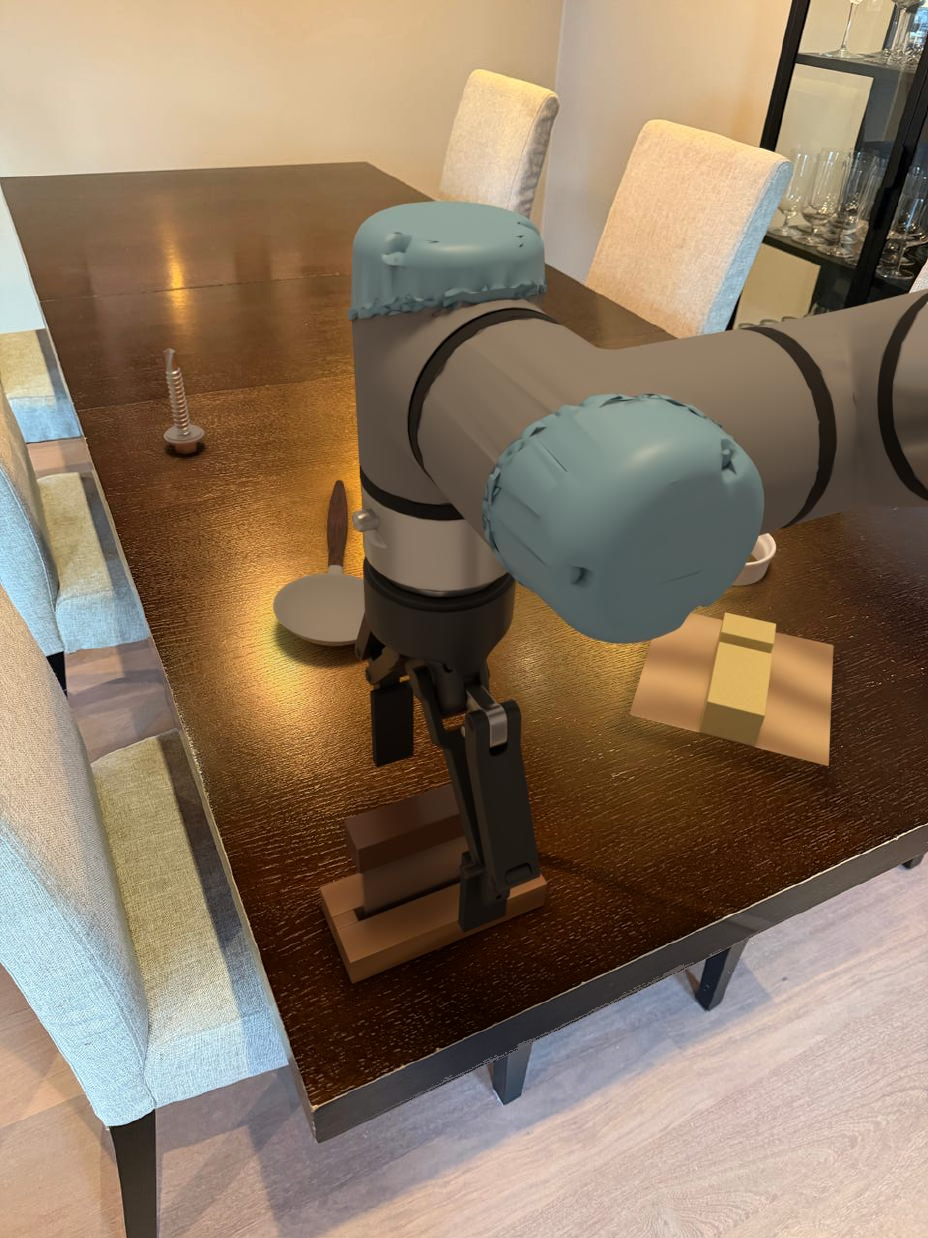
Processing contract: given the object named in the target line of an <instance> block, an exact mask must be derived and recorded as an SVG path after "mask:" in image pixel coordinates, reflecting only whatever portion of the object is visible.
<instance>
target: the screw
mask: <svg viewBox="0 0 928 1238" xmlns="http://www.w3.org/2000/svg"><path fill="white" fill-rule="evenodd" d="M163 356H164V362H165V369H166V371H165V374H166V376H165V379H166V380H167V381H166V384H168V385H167V388H168V389H169V390H168V393H169V396H168V398H170V400H169V402H170V403H171V404H170V407H171V408H172V409H171V412H173V413H172V416H173V422H174V423H173V426H171V427H169V428H168V429H167V430H166V431H165V432H164V433H163V440H164V442H165V443H167V444H169V445H171V446H174V449H175V453H178V454H181V455H189V454H193V453H196V452H197V449H198V443H199V442H201V441H202V440H204V438H205V436H206V433H205V431H204V429H203V428H201V427H200V426H198V425H195V424H191V423H190V418H189V417H190V414H188V413H189V410H188V405H187V400H186V399H187V397H186V396H185V394H186V392H185V387H184V382H183V376H182V372H181V367H179V364H178V359H177V352H176V350H175V349H173V348H169V347H168V348H166V349H165V350H163Z"/></svg>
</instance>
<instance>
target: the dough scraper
mask: <svg viewBox="0 0 928 1238" xmlns="http://www.w3.org/2000/svg"><path fill="white" fill-rule="evenodd" d="M343 824H344V837H345V846H346V848H347V851H348V852H349V855H350V857H351V859H352V862H353V864H354V866H355V868H356V870H357V873H359V874H360V878H361V893H362V909H363V920H365V919H367V918H370V917H372V916H375V915H377V914H380V913H383V912H385V911H388V910H390V909H393V908H396V907H398V906H401V905H403V904H406V903H408V902H411V901H414V900H416V899H419V898H421V897H424V896H427V895H429V894H432V893H434V892H437V891H439V890H442V889H445V888H447V887H450V886H452V885H455V884H457V883H460V878H461V871H460V868H459V865H461V860H462V853H463V852H466V851H468V850H469V848H468V845H467V841H466V837H465V833H464V829H463V825H462V822H461V818H460V814H459V810H458V806H457V803H456V799H455V795H454V791H453V787H452V783H451V782H450V783H449V784H445V785H442V786H439V787H437V788H433V789H431V790H430V789H429V790H427V791H425V792H422V793H419V794H416V795H414V796H410V797H408V798H404V799H401V800H398V801H396V802H392V803H390V804H387V805H384V806H381V807H377V808H375V809H372V810H369V811H366V812H363V813H360V814H357V815H353V816H351V817H349V818H345V819H344V821H343Z"/></svg>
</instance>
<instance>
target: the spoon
mask: <svg viewBox="0 0 928 1238" xmlns="http://www.w3.org/2000/svg"><path fill="white" fill-rule="evenodd" d="M347 500H348V499H347V494H346V488H345V484H344V482H343V480H341V479H337V480H336V481H335V483H334V485H333V489H332V493H331V495H330V501H329V505H328V512H327V521H326V522H327V527H326V533H327V534H326V535H327V537H326V538H327V545H328V562H327V571H326V572H327V573H324V572H323V573H316V574H315V573H314V574H310V575H306V576H302V577H299V578H296V579H294V580H292V581H290V582H288V583H287V584H285V585H284V586H282V588H280V589H279V590H278V591H277V593H276V594H275V596H274V598H273V602H272V610H273V613H274V616H275V618H276V619H277V621H278V623H280V624H281V626H283V627H284V629H286V630H287V631H289V632H290V633H291V634H293V635H294V636H296V637H298V638H300V639H302V640H304V641H307V642H308V643H313V644H316V645H321V646H326V647H342V646H348V645H353V644H354V645H355V643H356V640H357V636H358V633H359V629H360V626H361V622H362V619H363V615H364V612H365V605H364V581H363V577H360V576H355V575H350V574H346V573H345V574H344V554H345V553H344V552H345V547H346V543H347V535H348V525H349V523H348V522H349V521H348V520H349V515H348V511H349V510H348V501H347Z"/></svg>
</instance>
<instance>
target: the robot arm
mask: <svg viewBox="0 0 928 1238" xmlns="http://www.w3.org/2000/svg"><path fill="white" fill-rule="evenodd" d="M351 253H352V254H351V255H352V256H351V291H350V292H351V294H350V295H351V296H350V297H351V298H350V307H349V308H348V311H347V320H348V321H349V322H351V331H352V332H351V335H352V351H353V367H354V368H353V370H354V389H355V390H354V392H355V407H356V408H355V409H356V410H355V411H356V412H355V413H356V430H357V448H358V449H357V451H358V465H359V479H360V481H359V482H360V483H359V484H360V493H361V494H360V496H361V509H359V510H356V511H354V512H353V513H352V515H351V521H352V528H353V529H354V530H356V531H357V532H359V533H362V548H363V552H364V558H363V561H362V574H363V575H362V579H363V581H364V605H365V612H364V615H363V619H362V622H361V626H360V629H359V633H358V636H357V640H356V643H354V647H355V648H354V654H355V656H356V657H357V659H358V660H359V661H360V662H363V661H366V662H367V664H368V666H366V667H365V670H364V672H365V674H364V676H365V677H364V678H365V680H366V682H367V683H368V684H369V686H370V687H372V689H371V690H370V691H369V699H370V721H371V725H370V727H371V746H372V762H373V764H374V765H375V767H376V768H381V767H385V766H387V765H390V764H393V763H397V762H400V761H402V760H405V759H409V758H412V757H414V755H415V752H414V750H415V742H414V741H415V733H414V732H415V709H414V708H415V698H416V699H417V700H418V701H419V702H420V705H421V708H422V713H423V716H424V720H425V724H426V728H427V732H428V735H429V739H430V742H431V743H432V744H433V746H436V747H439V748H441V750H442V752H443V756H444V760H445V764H446V768H447V771H448V775H449V780H450V784H451V783H452V787H453V791H454V795H455V799H456V803H457V806H458V810H459V814H460V818H461V822H462V825H463V829H464V833H465V837H466V841H467V845H468V848H469V850H468V851H466V852H463V853H462V860H461V865H459V868H460V871H461V878H460V895H459V913H458V923H459V925H460V927H461V929H462V931H463V933H465V932H467V931H470V930H472V929H475V928H477V927H480V926H482V925H484V924H487V923H489V922H492V921H494V920H497V919H499V918H501V917H504V916H506V907H507V899H508V898H509V897H510V890H511V888H514V887H516V886H519V885H521V884H524V883H526V882H529V881H531V880H533V879H536V878H538V877H540V875H541V874H542V873H541V866H540V859H539V853H538V848H537V843H536V841H537V840H536V835H535V829H534V822H533V816H532V815H533V814H532V809H531V803H530V797H529V796H530V795H529V790H528V783H527V777H526V770H525V765H524V764H525V763H524V757H523V751H522V745H521V744H522V712H521V708H520V706H519V704H518V703H517V701H516V700H515V699H513V698H511V699H507V700H504V701H501V702H497V700H495V698H494V697H493V696H492V694H491V691H490V679H491V673H490V669H489V666H488V661H487V658H488V657H489V655H490V654H491V652H492V651H493V650H494V649H495V648H496V647H497V645H498V644H499V643H500V642H501V641H502V640H503V638H504V637H505V636H506V635H507V633H508V631H509V629H510V628H511V625H512V622H513V620H514V619H513V618H514V612H515V611H514V609H515V598H516V588H517V586H516V585H517V583H518V584H519V585H520V586H521V587H523V588H525V589H528V590H530V592H532V593H533V594H536V595H537V596H538V597H539V598H540V599H541V600H542V601H543V602H544V603H545V604H546V605H547V606H548V607H549V608H550V609H551V610H552V612H554V613H555V614H556V615H558V617H559V618H560V619H561V620H563V622H565V624H567V625H568V626H569V627H571V628H572V629H573V630H575V631H576V632H578V633H579V634H582V635H583V636H584V637H587V638H590V639H592V640H594V641H595V640H596V641H600V642H604V643H608V644H617V645H618V644H619V645H627V644H638V643H644V642H649V641H651V640H652V639H655V638H658V637H661V636H664V635H666V634H668V633H671V632H673V631H675V630H677V629H679V628H680V627H681V626H682V625H683V623H684V621H685V620H686V618H687V617H688V615H689V614H690V613H693V612H694V611H695V610H697V608H699V607H702V608H710V607H712V605H714V604H715V603H716V602H717V601H718V600H719V599H720V598H721V597H722V596H723V595H724V594H725V593H726V592H727V591H728V590H729V588H731V585H732V583H733V582H734V581H735V579H736V578H737V577H738V575H739V574H740V572H741V571H742V570H743V568H744V567H745V565H746V563H748V561H749V558H750V557H751V556H752V555H751V553H752V551H753V549H754V547H755V544H756V542H757V540H758V536H760V535H764V534H767V533H769V534H770V533H773V532H776V531H779V530H784V529H786V528H789V527H791V526H795V525H798V524H802V523H805V522H806V523H807V522H809V521H812V520H813V521H814V520H817V519H820V518H824V517H828V516H831V515H832V516H833V515H835V514H839V513H843V512H848V511H854V510H860V509H870V508H928V288H923V289H920V290H916V291H911V292H907V293H904V294H900V295H897V296H892V297H888V298H885V299H880V300H877V301H873V302H868V303H864V304H860V305H857V306H853V307H847V308H844V309H838V310H834V311H829V312H825V313H820V314H819V313H818V314H814V315H809V316H804V317H799V318H794V319H788V320H783V321H779V322H774V323H769V324H764V325H759V326H747V327H746V326H745V327H741V328H735V329H729V330H723V331H717V332H711V333H706V334H705V333H704V334H700V335H693V336H688V337H681V338H676V339H669V340H664V341H658V342H652V343H646V344H640V345H636V346H630V347H623V348H618V349H606V348H602V347H597V346H595V345H594V344H592V343H590V342H589V341H588V340H586V339H584V338H583V337H581V336H580V335H579V334H577V333H575V332H574V331H573V330H571V329H569V328H568V327H566V326H565V325H562V324H561V323H559V321H558V320H556V318H553V316H551V315H550V314H549V315H548V313H546V312H544V311H543V310H542V306H543V301H544V296H545V294H547V290H548V282H547V279H546V263H545V262H546V259H545V257H546V256H545V243H544V240H543V238H542V236H541V232H540V230H539V228H538V226H537V225H536V224H535V223H534V222H533V221H532V220H530V219H529V218H528V217H526V216H524V215H522V214H521V213H518V212H516V211H513V210H509V209H508V208H503V207H501V206H496V205H490V204H484V203H479V202H470V201H469V202H468V201H456V200H450V201H449V200H436V201H434V200H433V201H423V202H412V203H403V204H399V205H394V206H391V207H388V208H385V209H382V210H379V211H378V212H376V213H374V214H372V215H370V216H369V217H368V218H367V219H365V221H363V222H362V223H361V224H360V226H359V227H358V229H357V231H356V233H355V236H354V238H353V240H352V252H351ZM407 676H408V679H406V680H402V681H401V678H404V677H407ZM460 715H464V723H461V724H457V725H455V726H451V727H449V728H445V726H444V721H443V720H447V719H450V718H453V717H457V716H460ZM540 873H541V874H540Z"/></svg>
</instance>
